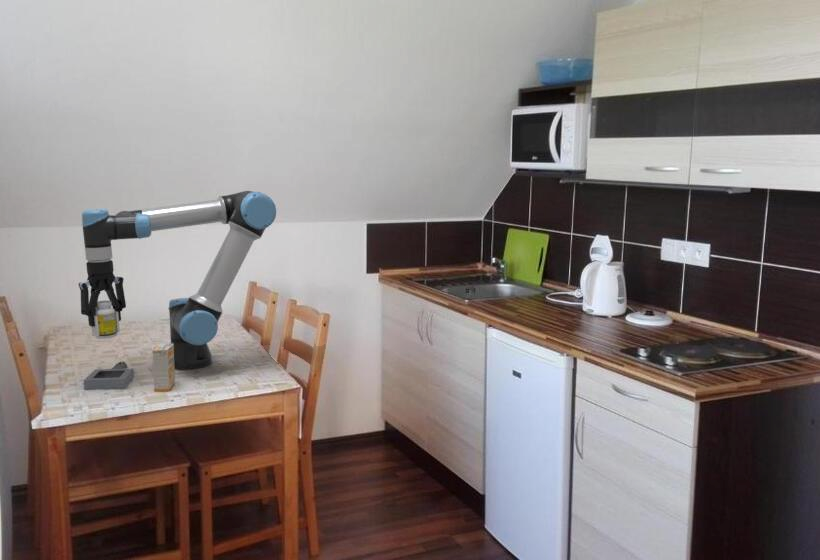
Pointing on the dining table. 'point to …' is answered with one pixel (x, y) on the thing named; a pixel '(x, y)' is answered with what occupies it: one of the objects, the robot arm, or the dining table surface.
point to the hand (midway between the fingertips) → (106, 333)
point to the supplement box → (163, 367)
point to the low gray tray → (110, 378)
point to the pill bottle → (106, 320)
